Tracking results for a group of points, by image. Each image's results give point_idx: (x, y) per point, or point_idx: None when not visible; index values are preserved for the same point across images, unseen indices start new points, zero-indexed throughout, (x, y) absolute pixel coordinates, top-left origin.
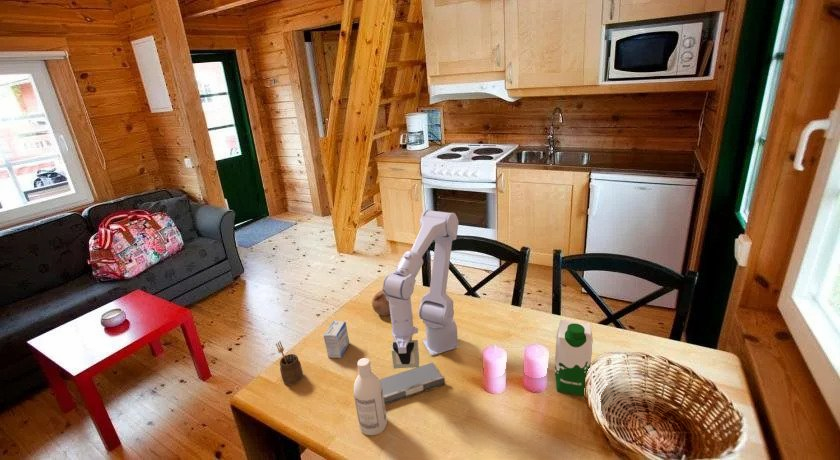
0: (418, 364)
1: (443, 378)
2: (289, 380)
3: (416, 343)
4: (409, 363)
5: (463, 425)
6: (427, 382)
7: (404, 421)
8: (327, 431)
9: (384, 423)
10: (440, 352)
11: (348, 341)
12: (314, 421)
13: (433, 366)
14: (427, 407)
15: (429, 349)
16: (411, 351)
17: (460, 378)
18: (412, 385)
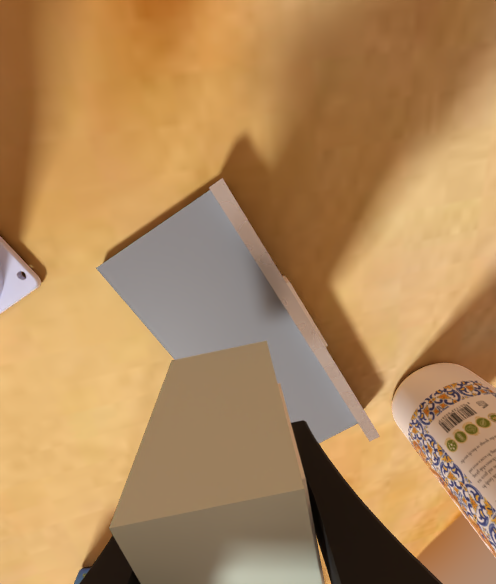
0: (269, 355)
1: (225, 184)
2: None
3: (185, 523)
4: (303, 421)
5: (470, 46)
6: (270, 264)
7: (425, 309)
8: (440, 491)
9: (472, 375)
10: (1, 241)
11: (80, 581)
12: (406, 526)
13: (123, 258)
14: (362, 238)
15: (2, 302)
16: (436, 579)
17: (165, 97)
18: (263, 324)
